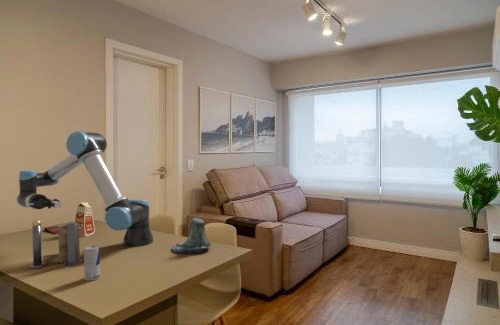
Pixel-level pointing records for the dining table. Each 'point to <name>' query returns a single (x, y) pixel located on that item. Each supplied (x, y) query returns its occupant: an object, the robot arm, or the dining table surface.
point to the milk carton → (85, 219)
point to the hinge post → (37, 245)
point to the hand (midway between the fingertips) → (59, 205)
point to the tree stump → (194, 239)
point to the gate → (62, 247)
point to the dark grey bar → (72, 245)
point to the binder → (52, 230)
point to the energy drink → (91, 263)
